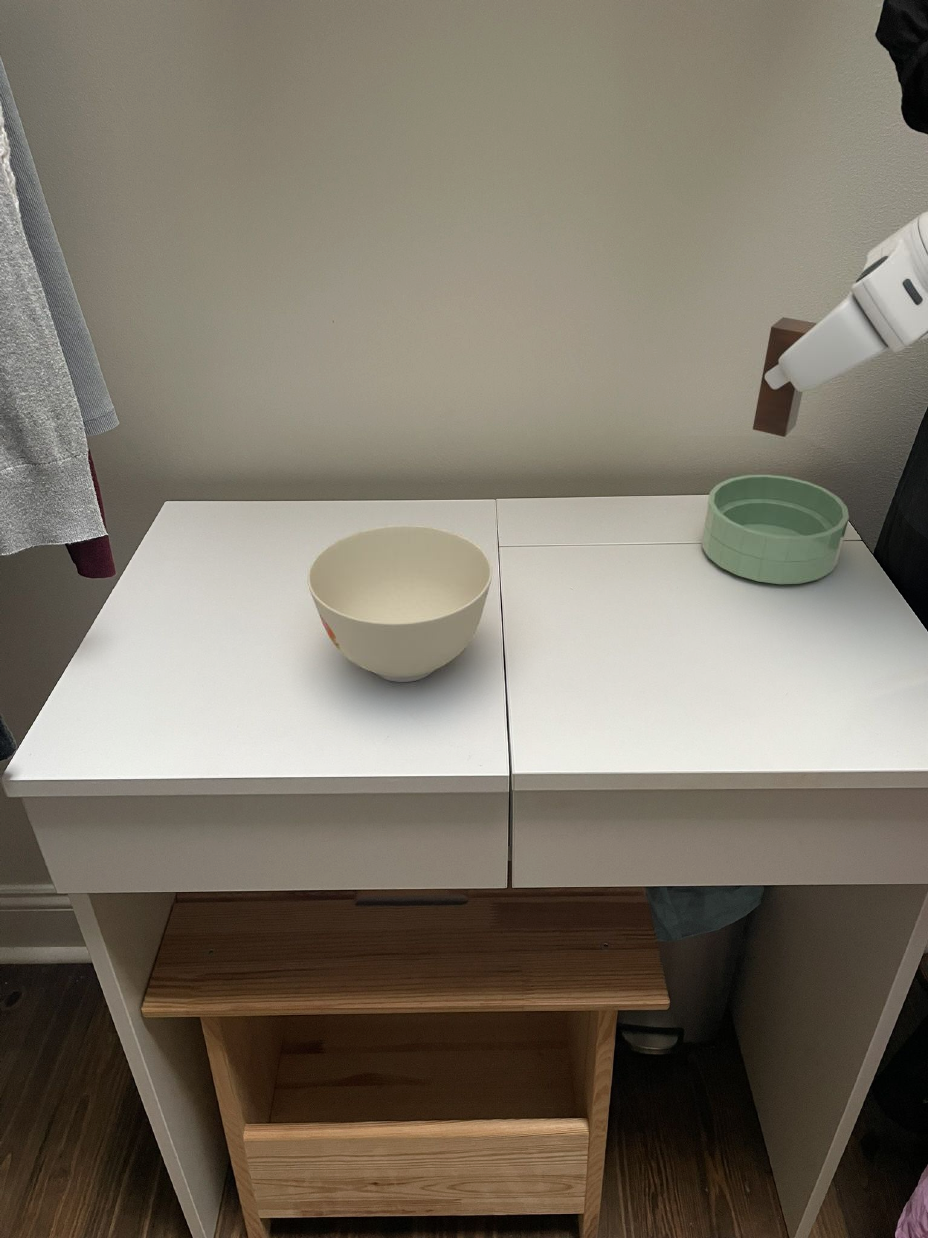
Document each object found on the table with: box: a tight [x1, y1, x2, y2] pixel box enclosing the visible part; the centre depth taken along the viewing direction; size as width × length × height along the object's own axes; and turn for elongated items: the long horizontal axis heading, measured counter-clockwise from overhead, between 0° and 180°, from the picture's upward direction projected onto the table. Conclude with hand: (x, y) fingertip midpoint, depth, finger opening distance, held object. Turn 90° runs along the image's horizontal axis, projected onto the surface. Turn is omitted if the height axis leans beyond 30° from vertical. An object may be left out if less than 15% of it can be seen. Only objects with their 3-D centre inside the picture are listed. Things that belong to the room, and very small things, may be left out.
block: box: [752, 317, 818, 438], centre depth 88 cm, size 3×3×10 cm
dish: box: [701, 474, 850, 585], centre depth 102 cm, size 14×14×6 cm
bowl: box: [306, 524, 493, 683], centre depth 85 cm, size 16×16×10 cm
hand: (778, 373), depth 88 cm, fingers closed on block, 3 cm apart
